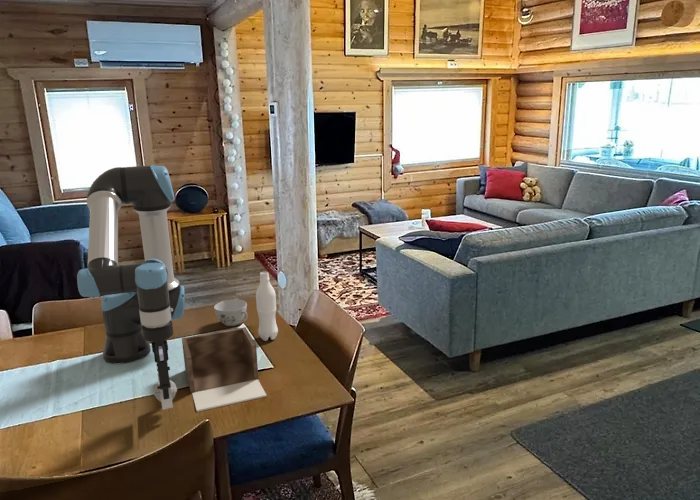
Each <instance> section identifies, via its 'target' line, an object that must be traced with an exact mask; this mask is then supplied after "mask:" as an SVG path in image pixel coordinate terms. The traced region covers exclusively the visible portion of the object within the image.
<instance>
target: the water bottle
mask: <svg viewBox="0 0 700 500" xmlns="http://www.w3.org/2000/svg"><path fill="white" fill-rule="evenodd" d="M269 273H270V272H268V271H260V273H259V281H260V282H259V285H258V286H257V289H256V292H255V303H256V311H257V315H258V323H259V325H258V329H257V333H258V337H259V338H260V339H261V340H262V341H265V342H267V341H268V340H269V339H270V340H271V341H274V340H276V338H277V335H278V333H279V328H278V325H277V322H276V321H277V320H276V311H277V301H276V300H277V299H276V296H277V295H276V291H275V289H274V287H273V286H272V284H271V282H270V276H269Z"/></svg>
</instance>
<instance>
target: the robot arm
mask: <svg viewBox="0 0 700 500" xmlns="http://www.w3.org/2000/svg"><path fill="white" fill-rule="evenodd" d="M172 185H173V184H172V181H171V177H170V174H169V170H168V168H166V166H163V165H140V166H135V165H134V166H125V167H123V166H122V167H121V166H120V167H119V166H118V167H113V168H112V167H111V168H109V169H108V170H106V171H104V172H102V173H101V174H100V175H98V177H96V178H95V180H94V181H93V182H92V184H91V186H90V187H89V189H88V191H87V194H86V206H87V208H88V210H89V225H88V226H89V227H88V247H87V248H88V249H87V267H85V268H83V269H78V272H77V275H76V280H77V281H76V282H77V288H78V289H77V290H78V292H79V295H80V296H81V297H82V298H83V297H84V298H91V297H92V298H93V297H95V298H96V297H98V298H99V297H101V301H100V302H101V311H102V317H103V323H104V331H105V339H104V346H103V350H102V355H103V357H102V358H103V360H104V361H105V362H107V363H110V364H114V363H121V364H127V363H133V362H136V361H139V360H141V359H143V358H145V357H147V356H148V355H149V354H150V353H151V352H152V353H153V359H154V362H155V363H156V370H157V377H158V382H160V385H159V386H158V387H157V389H160V395H161V402H160V403H161V409H162V411H163V410H168V409H173V408H174V405H173V400H172V394H171V384H170V380H171V379H170V373H169V372H170V370H171V367H170V366H169V364H168V360H170V358H169V352H168V350H169V344H168V339H170V338H171V337H172V336H173V335H174V327H173V325H174V324H173V321H175V320H180V319H182V318H183V316H184V313H185V286H184V285H181V284H180V280H178V279H177V278H176V277H175V275H174V264H173V256H172V250H171V249H172V248H171V247H172V246H171V238H170V237H171V236H170V229H169V222H168V213H167V212H168V210H169V209H171V207H172V205H171V202H174V201H175V199H176V198H175V194H174V190H173V186H172ZM122 205H132V210H133V211H134V212H136V214H138V219H139V224H140V235H141V242H142V249H143V256H144V261H143V262H142V263H141V262H140V263H132V264H130V263H129V264H122V265H121V264H120V265H119V211H120V210H121V208H122ZM150 343H151V344H150ZM151 350H152V351H151Z"/></svg>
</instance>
